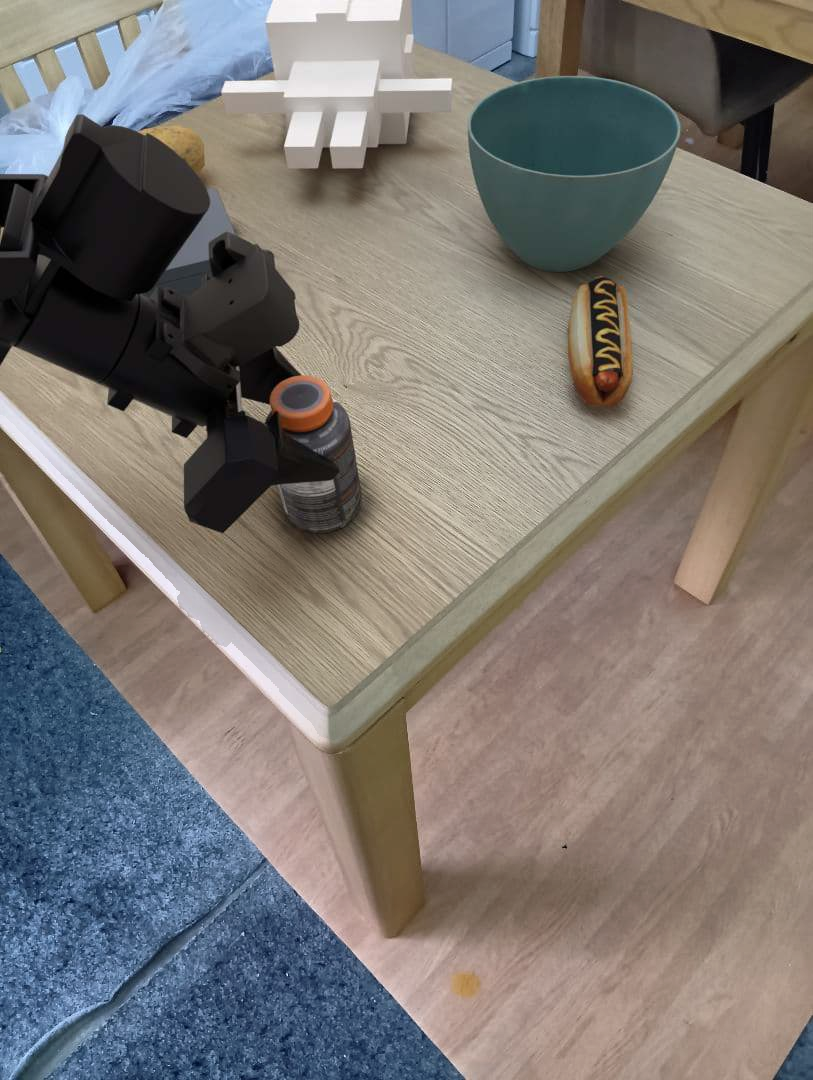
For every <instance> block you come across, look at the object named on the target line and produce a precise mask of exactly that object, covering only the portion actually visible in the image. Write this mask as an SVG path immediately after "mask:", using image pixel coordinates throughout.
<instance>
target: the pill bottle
mask: <svg viewBox="0 0 813 1080" xmlns="http://www.w3.org/2000/svg"><path fill="white" fill-rule="evenodd" d="M269 406H270V411H269V413H268V414H267V416H266V418H265V420H264V423H265V422H266V421H267V420H268V419H269V418H270V416H271V415H272V414H273V413H274V412H275V411H276V410H277V411H278V412H279V415H280V419H281V423H282V427H283V431H284V433H285V434H286V435H287V436H289V437H291V438H293V439H294V440H296V441H298V442H300V443H301V444H303V445H305V446H307V447H308V448H310V449H312V450H313V451H315V452H317V453H319V454H320V455H322V456H324V457H326V458H327V459H328V460H330V461H331V462H333V463H334V464H336V465H337V466H338V467H339V469H340V473H339V474H338V475H337V476H336V477H335V478H334V479H332V480H330V481H318V482H305V483H292V484H281V485H276V486H277V489H278V494H279V496H280V499H281V503H282V507H283V509H284V513H285V516H286V517H287V519H288V520H289V521H290V523H291V524H292V525H294V526H295V527H296V528H298V529H300V530H302V531H305V532H308V533H313V534H323V533H331V532H334V531H336V530H339V529H341V528H343V527H345V526H347V525H348V524H349V523H350V522H352V521H353V520H354V519H355V518H356V516H358V515H357V514H358V513H359V511H360V509H361V506H362V502H363V500H362V487H361V481H360V476H359V469H358V463H357V457H356V456H357V455H356V450H355V445H354V439H353V431H352V425H351V420H350V417H349V414H348V411H346V409H345V408H344V407H343V405H342V404H341V403H340V402H338V401H337V400H335V399H334V398H333V397H332V393H331V389H330V387H329V385H328V384H327V383H326V382H325V381H324V380H322V378H319V377H317V376H314V375H313V376H312V375H306V374H303V375H302V374H301V375H300V376H294V377H291V378H288V379H286V380H284V381H282V382H280V383H279V384H278V385H277V386H276V387H275V388H274V389H273V391H272V392H271V395H270V405H269Z"/></svg>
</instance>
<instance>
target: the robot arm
mask: <svg viewBox="0 0 813 1080" xmlns="http://www.w3.org/2000/svg"><path fill="white" fill-rule="evenodd" d="M207 190H208V189H207V188H206V186H205V184H204V182H203V180H202V179H201V178H200V176H199V175H197V174H196V173H195V171H194V170H193V169H192V168H191V167H190V166H189V165H188V164H187V163H186V161H185V160H184V159H182V158H181V157H180V156H179V155H178V154H177V153H176V152H175V151H174V150H172V149H171V148H170V147H168V146H167V145H166V144H164V143H163V142H162V141H160V140H159V139H157V138H156V137H154V136H153V135H151V134H149V133H147V134H146V135H143V134H141V133H139V132H138V130H135V129H132V128H129V127H126V126H123V125H115V124H111V125H105V126H104V127H103V126H102V125H100V124H98V123H97V122H96V121H94V120H93V119H91V118H89V117H88V116H87V115H85V114H83V113H81V114H76V115H75V117H74V119H73V120H72V122H71V124H70V126H69V127H68V129H67V132H66V134H65V138H64V142H63V146H62V150H61V153H60V155H59V156H58V158H57V160H56V162H55V164H54V166H53V167H52V169H51V171H50V172H49V174H48V175H46V174H45V173H44V174H43V173H0V236H1V237H0V367H1V366H2V364H3V363H4V360H5V359H6V357H7V356H8V354H9V353H10V351H11V350H12V348H13V347H14V348H16V349H18V350H20V351H23V352H25V353H27V354H29V355H32V356H35V357H36V358H39V359H42V360H43V361H46V362H47V363H50V364H52V365H55V366H57V367H59V368H62V369H64V370H66V371H68V372H70V373H73V374H75V375H78V376H80V377H82V378H84V379H86V380H88V381H91V382H92V383H95V384H97V385H99V386H102V387H104V388H106V389H108V392H107V406H110V407H112V408H115V409H117V410H119V411H122V412H125V411H126V409H127V408H128V407H129V405H130V404H131V403H132V402H133V400H134V401H135V402H138V403H140V404H143V405H146V406H147V407H150V408H152V409H154V410H156V411H158V412H161V413H163V414H166V415H167V416H170V417H171V433H173V434H174V435H178V436H179V437H183V438H185V439H187V438H189V436H190V435H191V434H192V432H194V430H195V429H196V428H197V427H200V428H204V427H205V432H206V438H205V440H203V442H202V443H201V444H200V445H199V446H198V447H197V449H196V450H195V451H194V452H193V453H192V454H191V455H190V456H189V457H188V459H187V460H186V461H185V462H184V463H183V509H184V511H185V513H186V516H187V518H188V520H189V522H190V523H192V524H195V525H198V526H201V527H203V528H206V529H208V530H212V531H214V532H217V533H220V534H225V533H226V532H227V530H229V529H230V527H232V525H233V524H234V523H235V522H236V521H238V519H239V518H240V517H242V515H244V514H245V512H246V511H248V510H249V509H250V507H252V506H253V504H254V503H256V502H257V501H258V500H259V499H260V498H261V496H262V495H264V494H265V493H266V491H268V489H269V488H270V487H271V486H277V485H281V484H292V483H305V482H318V481H330V480H332V479H334V478H335V477H336V476H337V475H338V474H339V473H340V469H339V467H338V466H337V465H336V464H334V463H333V462H331V461H330V460H328V459H327V458H326V457H324V456H322V455H320V454H319V453H317V452H315V451H313V450H312V449H310V448H308V447H307V446H305V445H303V444H301V443H300V442H298V441H296V440H294V439H293V438H291V437H289V436H287V435H286V434H285V433H284V431H283V427H282V423H281V419H280V415H279V412H278V411H277V410H276V411H275V412H274V413H273V414H272V415H271V416H270V418H269V419H268V420H267V421H266V422H265V421H264V422H263V421H261V420H259V419H257V418H255V417H253V416H251V415H250V413H249V412H247V411H246V410H243V403H242V399H246V400H250V401H253V402H256V403H257V402H258V403H261V404H265V405H269V406H270V395H271V392H272V391H273V389H274V388H275V387H276V386H277V385H278V384H279V383H280V382H282V381H284V380H286V379H288V378H291V377H294V376H300V375H302V374H301V373H300V372H299V371H298V370H297V369H296V368H295V366H293V365H292V364H291V363H290V361H288V359H287V358H286V357H285V356H284V355H283V353H282V352H281V351H280V349H278V348H277V347H283V346H285V345H286V344H288V343H290V342H291V341H292V340H293V339H294V338H295V337H296V336H297V334H298V333H299V330H300V320H299V317H298V315H297V309H296V299H297V298H296V292H295V291H294V290H293V289H292V287H291V286H290V285H289V283H288V282H287V281H286V280H285V279H284V277H283V276H282V275H281V273H280V272H279V271H278V269H277V268H276V261H275V255H274V253H273V251H271V250H268V249H262V248H261V246H260V245H259V244H258V243H255V244H254V243H252V242H250V241H248V240H246V239H244V238H242V237H240V236H238V235H237V234H236V235H234V234H232V233H230V232H224V233H223V234H221V235H220V236H218V237H217V238H215V239H213V240H212V241H210V242H209V244H208V249H209V263H210V267H211V271H212V275H213V276H212V278H211V279H210V277H209V276H208V275H205V276H203V277H202V286H201V288H200V289H198V290H197V291H195V292H194V293H193V294H191V295H190V296H186V295H183V294H180V293H178V292H177V291H175V290H173V289H171V288H168V287H167V288H165V289H162V288H160V287H159V286H158V287H157V288H156V289H155V291H154V292H153V294H152V295H151V296H150V298H148V297H146V296H144V295H142V293H147V292H148V291H150V290H151V289H152V288H153V287H154V286H155V284H156V283H157V282H158V280H159V279H160V277H161V276H162V274H163V273H164V272H165V270H166V269H167V267H168V266H169V265H170V263H171V262H172V260H173V259H174V257H175V256H176V255H177V253H178V252H179V250H180V249H181V248H182V246H183V245H184V243H185V242H186V240H187V239H188V238H189V236H190V235H191V233H192V232H193V231H194V229H195V228H196V226H197V225H198V223H199V222H200V221H201V219H202V218H203V216H204V215H205V214H206V212H207V211H208V209H209V206H210V198H209V195H208V192H207ZM2 228H3V230H2ZM1 232H2V234H1Z"/></svg>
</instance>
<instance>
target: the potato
mask: <svg viewBox="0 0 813 1080" xmlns="http://www.w3.org/2000/svg"><path fill="white" fill-rule="evenodd" d="M137 132H139V133H141V134H143V135H146V134H147V133H149V134H151V135H153V136H154V137H156V138H157V139H159V140H160V141H162V142H163V143H164V144H166V145H167V146H168V147H170V148H171V149H172V150H174V151H175V152H176V153H177V154H178V155H179V156H180V157H181V158H182V159H184V160H185V161H186V163H187V164H188V165H189V166H190V167H191V168H192V169H193V170H194V171H195V173H196V174H197V175H198V176H199V175H200V173H201V172H202V170H203V169H204V167H205V165H206V159H205V158H206V156H205V144H204V142H203V140H202V138H201V137H200V135H199V134H198V133H197V132H196V131H194V130H192V129H191V128H189V127H185V126H182V125H172V126H171V125H169V126H156V127H148V128H145V129H142V130H137Z"/></svg>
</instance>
